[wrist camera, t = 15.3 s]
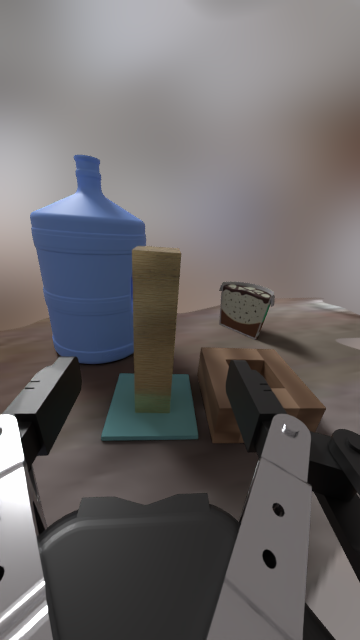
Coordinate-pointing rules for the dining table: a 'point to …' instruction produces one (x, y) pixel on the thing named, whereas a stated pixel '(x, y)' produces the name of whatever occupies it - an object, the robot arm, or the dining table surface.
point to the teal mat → (150, 414)
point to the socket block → (274, 371)
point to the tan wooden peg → (154, 325)
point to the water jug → (88, 269)
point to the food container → (244, 307)
